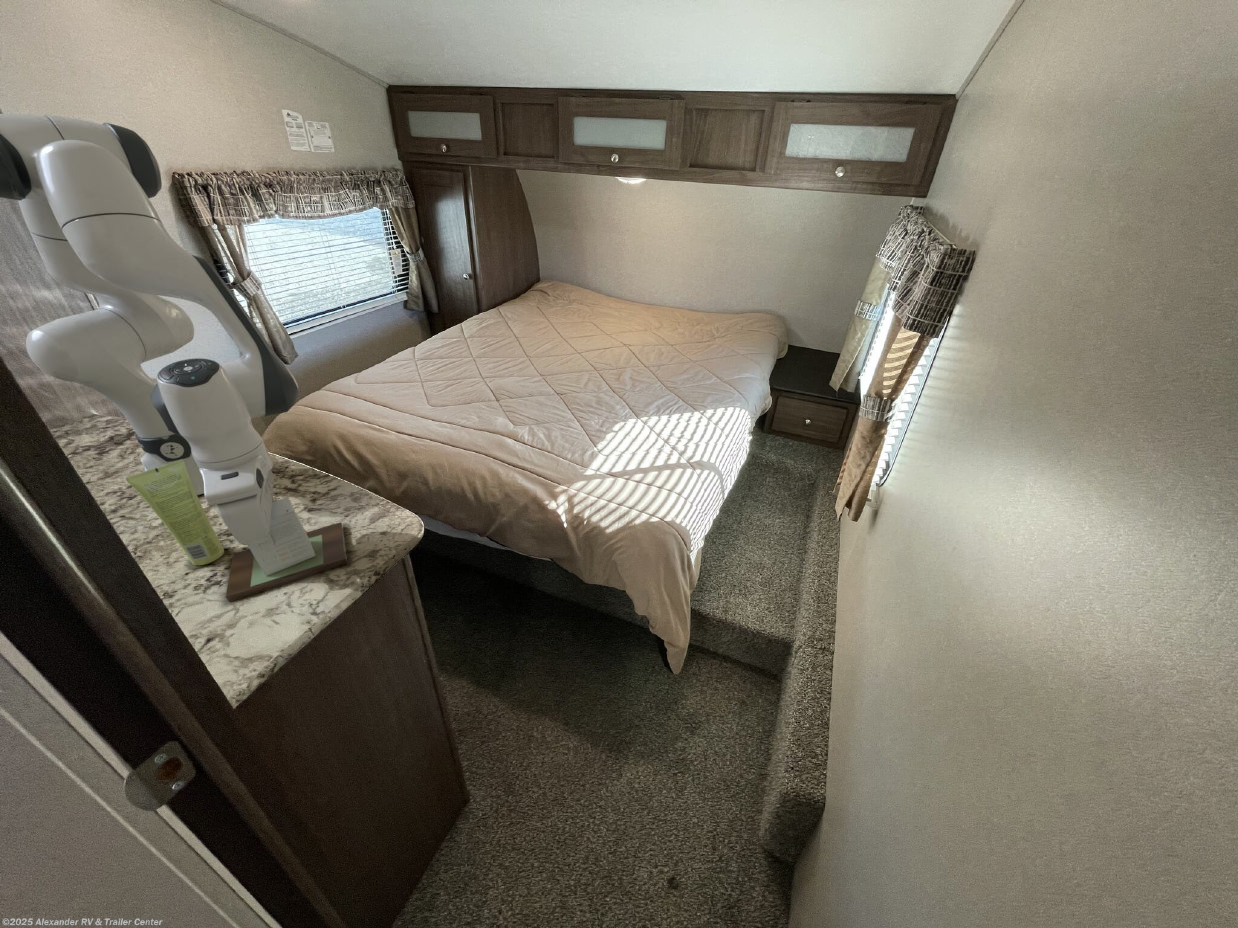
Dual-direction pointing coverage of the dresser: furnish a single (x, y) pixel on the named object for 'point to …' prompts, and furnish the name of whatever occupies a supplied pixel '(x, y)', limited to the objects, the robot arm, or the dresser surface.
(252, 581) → the walnut board
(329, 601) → the dresser surface
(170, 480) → the tube
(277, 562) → the small box
